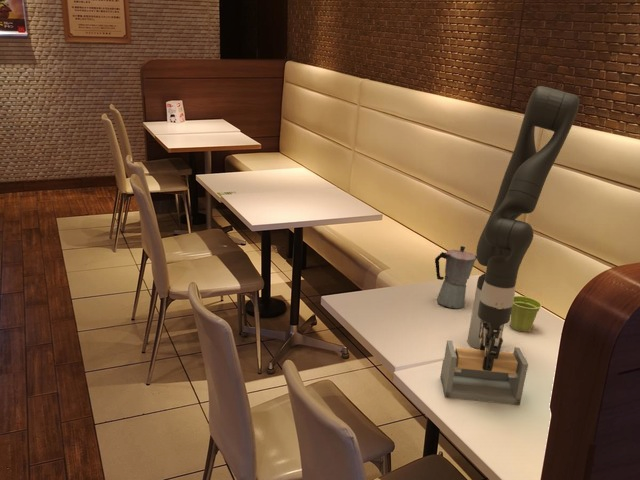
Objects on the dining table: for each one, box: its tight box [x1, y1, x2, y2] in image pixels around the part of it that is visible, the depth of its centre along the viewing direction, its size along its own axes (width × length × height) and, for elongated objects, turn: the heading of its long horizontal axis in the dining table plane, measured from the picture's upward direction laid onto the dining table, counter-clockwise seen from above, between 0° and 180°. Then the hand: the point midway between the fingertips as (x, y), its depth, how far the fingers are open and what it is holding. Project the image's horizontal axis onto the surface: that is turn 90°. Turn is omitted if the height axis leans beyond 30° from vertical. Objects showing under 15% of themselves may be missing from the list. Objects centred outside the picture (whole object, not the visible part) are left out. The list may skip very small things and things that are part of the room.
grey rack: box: [439, 340, 529, 406], centre depth 156 cm, size 10×18×11 cm, turn 87°
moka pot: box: [434, 245, 477, 309], centre depth 205 cm, size 10×15×20 cm, turn 112°
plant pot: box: [509, 295, 543, 332], centre depth 194 cm, size 9×9×9 cm
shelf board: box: [454, 346, 518, 374], centre depth 154 cm, size 5×14×3 cm, turn 87°
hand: (484, 364), depth 155 cm, fingers closed on shelf board, 5 cm apart
